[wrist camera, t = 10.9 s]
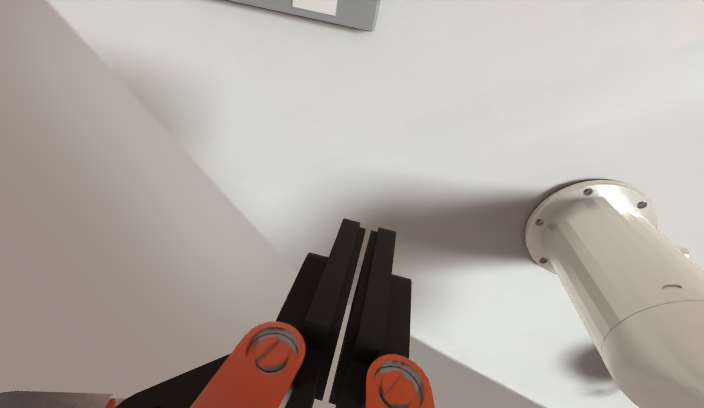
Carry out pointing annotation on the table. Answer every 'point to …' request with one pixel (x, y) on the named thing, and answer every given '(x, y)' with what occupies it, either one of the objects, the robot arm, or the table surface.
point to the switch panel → (327, 10)
